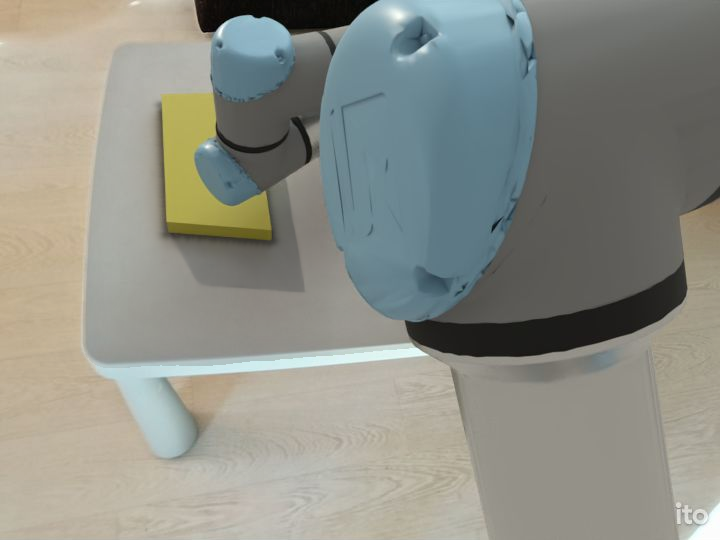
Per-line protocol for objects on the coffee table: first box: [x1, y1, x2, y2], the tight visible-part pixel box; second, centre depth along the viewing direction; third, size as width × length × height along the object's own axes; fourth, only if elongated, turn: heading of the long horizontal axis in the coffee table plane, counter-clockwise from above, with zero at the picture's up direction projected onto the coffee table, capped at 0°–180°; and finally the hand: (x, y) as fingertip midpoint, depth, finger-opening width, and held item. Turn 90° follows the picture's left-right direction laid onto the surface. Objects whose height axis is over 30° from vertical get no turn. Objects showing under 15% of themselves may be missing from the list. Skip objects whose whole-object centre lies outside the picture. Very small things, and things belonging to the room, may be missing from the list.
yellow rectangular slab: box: [160, 92, 273, 241], centre depth 78 cm, size 12×2×24 cm
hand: (443, 48), depth 81 cm, fingers closed on cup, 8 cm apart
